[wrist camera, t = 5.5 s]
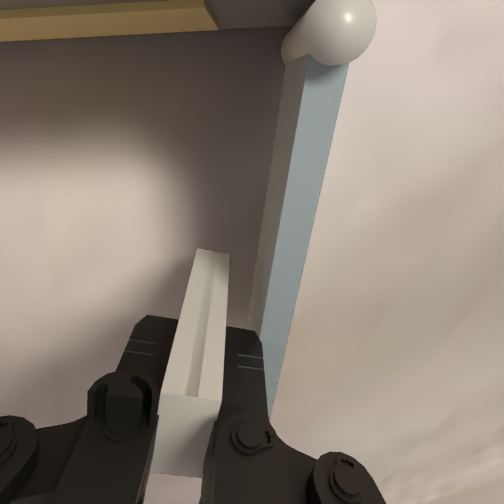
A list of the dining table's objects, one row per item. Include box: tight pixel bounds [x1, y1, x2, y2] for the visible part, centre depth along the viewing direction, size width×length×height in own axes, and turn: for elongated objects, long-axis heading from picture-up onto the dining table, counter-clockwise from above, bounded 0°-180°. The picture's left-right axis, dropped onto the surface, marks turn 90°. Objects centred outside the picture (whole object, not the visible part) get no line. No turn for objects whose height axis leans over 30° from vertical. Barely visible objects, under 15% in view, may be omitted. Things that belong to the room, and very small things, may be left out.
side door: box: [246, 0, 376, 420], centre depth 11 cm, size 12×1×6 cm, turn 173°
